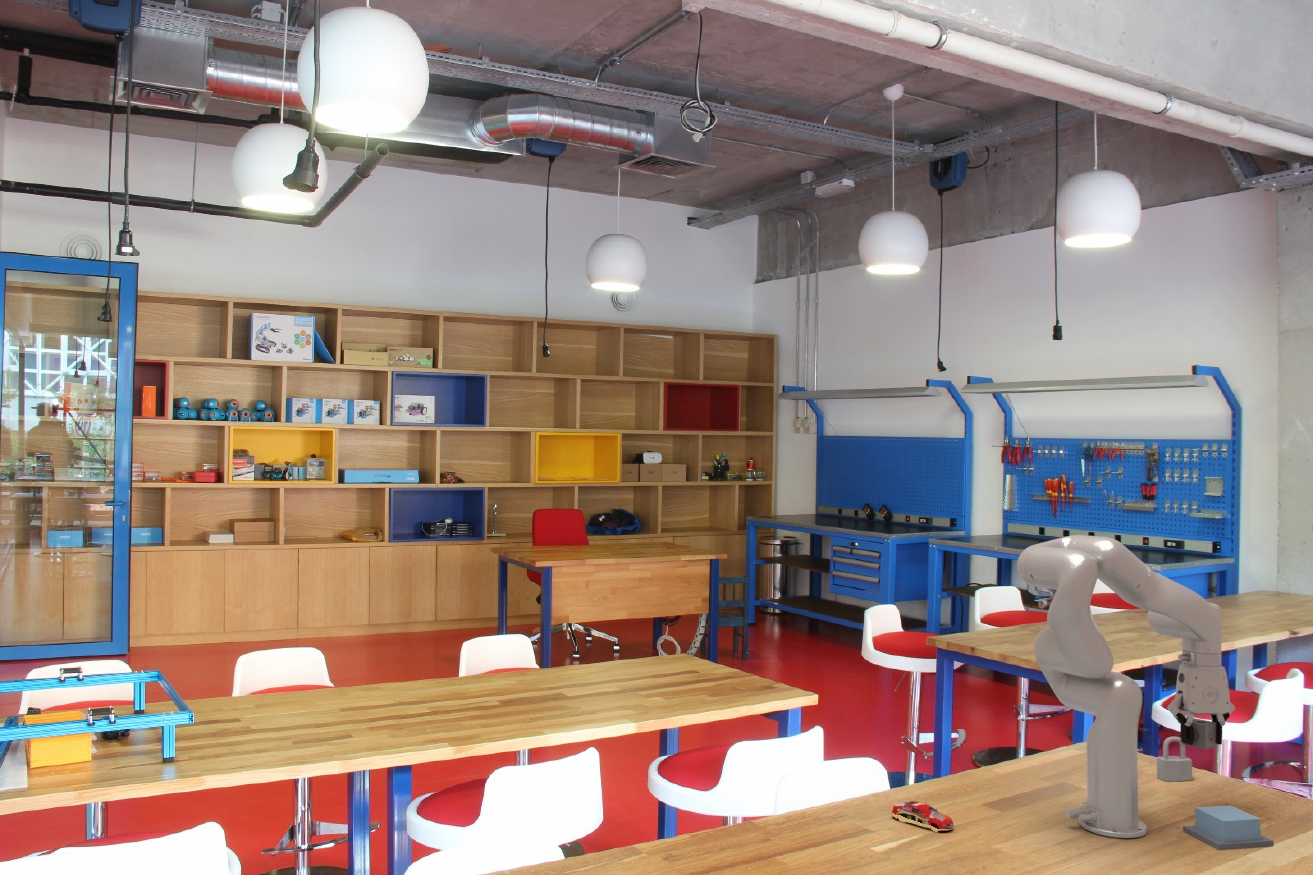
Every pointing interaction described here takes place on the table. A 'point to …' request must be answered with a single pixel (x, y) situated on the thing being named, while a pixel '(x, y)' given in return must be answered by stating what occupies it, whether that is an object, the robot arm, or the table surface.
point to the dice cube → (1203, 734)
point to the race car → (923, 814)
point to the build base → (1227, 828)
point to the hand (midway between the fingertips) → (1201, 742)
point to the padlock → (1174, 764)
